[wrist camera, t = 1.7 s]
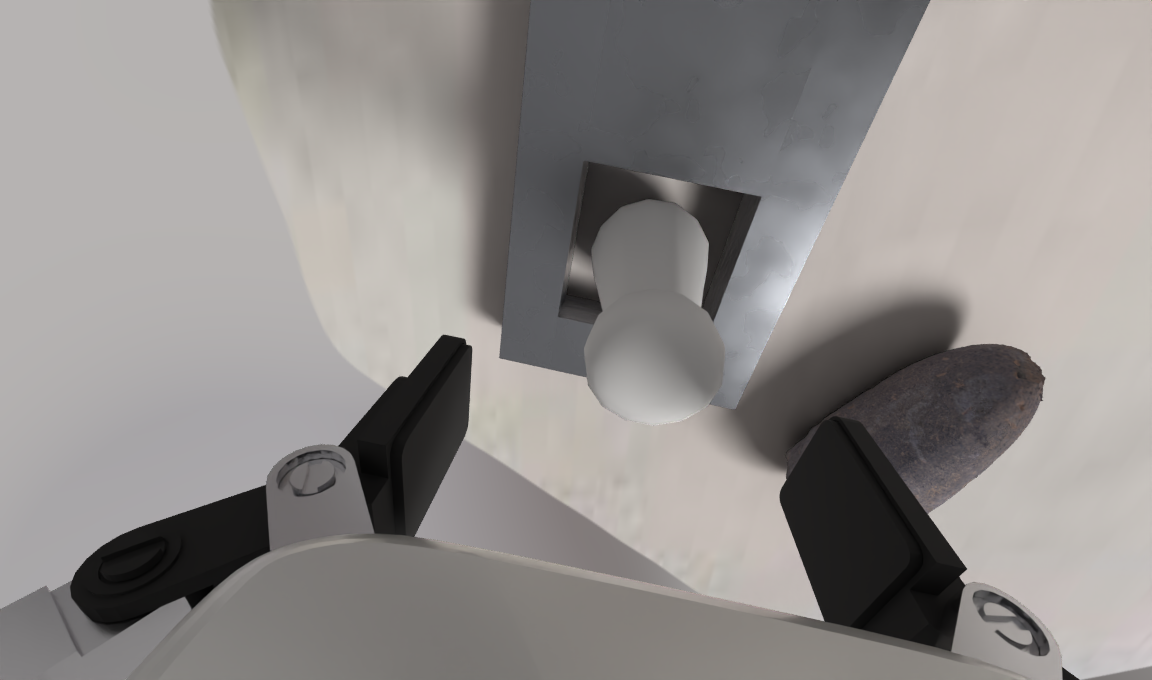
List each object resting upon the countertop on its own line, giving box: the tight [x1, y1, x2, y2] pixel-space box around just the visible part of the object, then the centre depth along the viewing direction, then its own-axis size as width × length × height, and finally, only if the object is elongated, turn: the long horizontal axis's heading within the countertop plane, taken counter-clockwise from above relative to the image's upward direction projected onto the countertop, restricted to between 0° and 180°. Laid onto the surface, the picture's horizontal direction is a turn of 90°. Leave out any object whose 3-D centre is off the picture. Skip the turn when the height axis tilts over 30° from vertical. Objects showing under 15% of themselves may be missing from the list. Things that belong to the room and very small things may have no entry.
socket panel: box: [499, 0, 930, 410], centre depth 18 cm, size 14×30×3 cm, turn 170°
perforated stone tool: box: [785, 344, 1045, 514], centre depth 24 cm, size 15×5×7 cm, turn 146°
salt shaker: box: [584, 199, 725, 426], centre depth 18 cm, size 6×6×13 cm
